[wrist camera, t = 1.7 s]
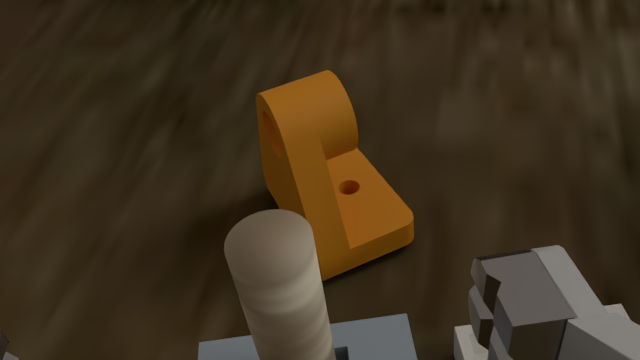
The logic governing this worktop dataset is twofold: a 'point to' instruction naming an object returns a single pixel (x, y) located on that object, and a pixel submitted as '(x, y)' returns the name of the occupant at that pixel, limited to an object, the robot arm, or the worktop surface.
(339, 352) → the block
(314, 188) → the bracket
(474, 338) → the tray
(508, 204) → the worktop surface
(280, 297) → the dowel
